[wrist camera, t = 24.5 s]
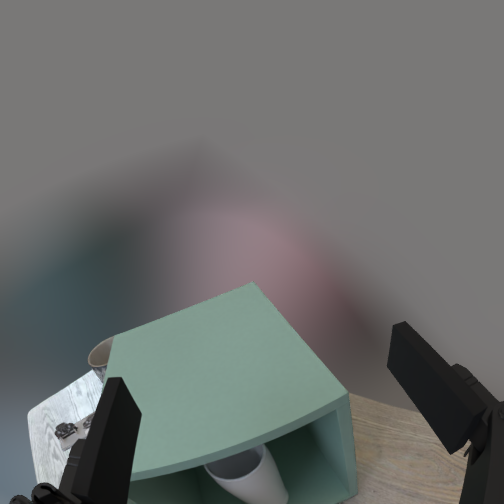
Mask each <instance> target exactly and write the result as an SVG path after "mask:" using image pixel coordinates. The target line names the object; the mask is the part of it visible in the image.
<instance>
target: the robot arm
mask: <svg viewBox="0 0 504 504" xmlns="http://www.w3.org/2000/svg"><path fill="white" fill-rule="evenodd" d="M387 367H388V369H389V370H390V371H391V373H392V374H393V375H394V377H395V378H396V380H397V381H398V382H399V384H400V385H401V386H402V388H403V389H404V390H405V392H406V393H407V394H408V396H409V397H410V399H411V400H412V401H413V403H414V404H415V405H416V407H417V408H418V410H419V411H420V412H421V414H422V415H423V417H424V418H425V419H426V421H427V422H428V424H429V425H430V426H431V428H432V429H433V431H434V432H435V434H436V435H437V436H438V438H439V439H440V441H441V442H442V444H443V445H444V447H445V448H446V449H447V451H448V452H449V454H450V455H451V454H453V453H454V452H456V451H458V450H459V449H461V448H462V447H464V445H465V444H466V442H467V441H468V439H469V440H470V441H471V445H470V446H469V447H468V449H467V450H466V452H465V454H464V456H463V457H466V455H467V454H468V453H469V456H468V463H467V469H466V474H465V479H464V484H463V489H462V493H461V497H460V501H459V504H504V401H503V402H499V401H498V400H497V399H496V398H494V396H493V395H492V394H491V393H490V392H489V391H488V390H487V389H486V388H485V387H484V386H483V385H482V384H481V383H480V382H478V380H477V379H476V378H475V377H473V375H472V374H471V373H470V371H469V370H468V369H467V368H465V367H463V366H461V365H459V364H455V365H453V366H450V365H449V364H448V363H447V362H446V361H445V360H444V359H443V358H442V357H441V356H440V355H439V354H438V353H437V352H436V351H435V350H434V349H433V348H432V347H431V346H430V345H429V344H428V343H427V342H426V341H425V340H424V339H423V338H422V337H421V336H420V335H419V334H418V333H417V332H416V331H415V330H414V329H413V328H412V327H411V326H410V325H409V324H408V323H407V322H406V321H404V322H401V323H398V324H395V325H393V329H392V336H391V343H390V350H389V357H388V363H387ZM141 418H142V413H141V411H140V409H139V408H138V406H137V404H136V402H135V401H134V399H133V397H132V395H131V393H130V392H129V390H128V388H127V386H126V384H125V382H124V380H123V378H122V377H108V379H107V381H106V384H105V387H104V389H103V392H102V394H101V397H100V400H99V403H98V405H97V408H96V411H95V414H94V417H93V419H92V422H91V425H90V428H89V431H88V434H87V437H86V439H79V438H78V440H77V441H76V442H75V443H74V445H73V446H72V448H71V451H70V454H69V458H68V460H67V465H66V466H65V469H64V472H63V476H62V479H61V482H60V486H59V489H56V488H55V487H54V486H53V485H51V484H49V483H45V482H44V483H40V484H38V485H37V486H35V488H34V489H33V490H32V494H31V497H32V501H30V500H29V499H28V498H26V497H25V496H23V495H17V496H14V497H13V498H12V499H11V501H10V504H127V501H128V493H129V486H130V479H131V473H132V467H133V461H134V455H135V449H136V444H137V438H138V433H139V428H140V423H141Z"/></svg>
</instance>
